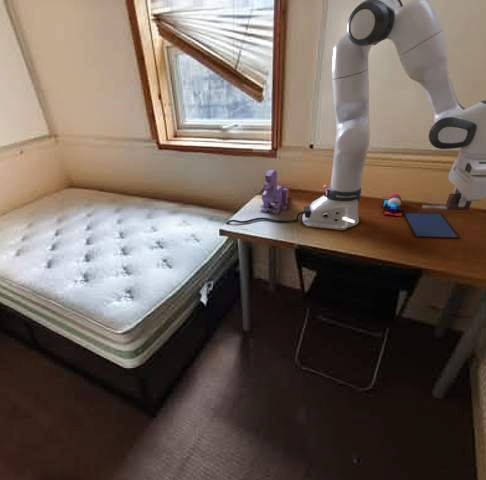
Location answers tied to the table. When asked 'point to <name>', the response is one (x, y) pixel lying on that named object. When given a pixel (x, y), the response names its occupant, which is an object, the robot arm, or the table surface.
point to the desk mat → (430, 225)
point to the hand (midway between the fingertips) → (458, 203)
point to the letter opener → (450, 204)
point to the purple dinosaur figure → (274, 193)
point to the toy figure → (393, 205)
